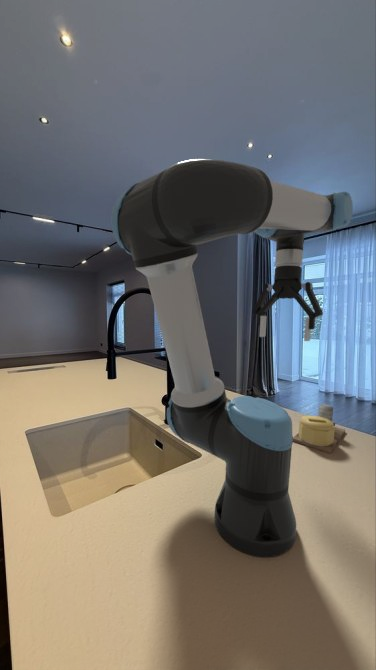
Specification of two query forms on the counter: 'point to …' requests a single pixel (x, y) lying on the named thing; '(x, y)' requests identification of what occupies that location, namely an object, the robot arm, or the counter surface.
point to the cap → (316, 430)
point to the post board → (327, 413)
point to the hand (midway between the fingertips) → (283, 338)
